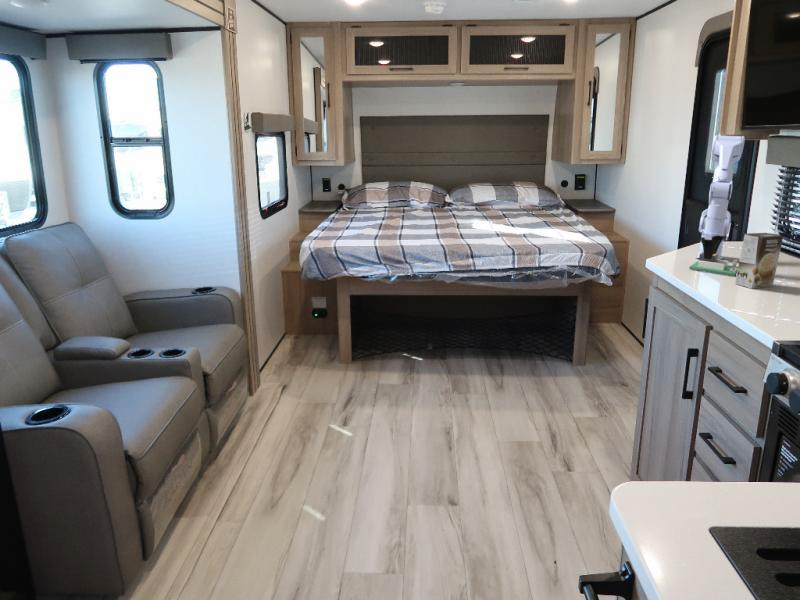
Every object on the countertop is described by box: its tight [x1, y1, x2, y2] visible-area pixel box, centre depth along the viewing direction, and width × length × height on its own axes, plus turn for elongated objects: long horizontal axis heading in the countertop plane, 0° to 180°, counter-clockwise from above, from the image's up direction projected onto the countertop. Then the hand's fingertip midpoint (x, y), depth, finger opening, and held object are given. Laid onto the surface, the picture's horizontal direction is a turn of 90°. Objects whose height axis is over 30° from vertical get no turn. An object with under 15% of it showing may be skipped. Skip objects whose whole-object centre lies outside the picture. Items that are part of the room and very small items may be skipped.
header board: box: [688, 258, 738, 277], centre depth 209 cm, size 12×14×4 cm
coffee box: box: [734, 232, 784, 289], centre depth 189 cm, size 9×6×16 cm
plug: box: [698, 252, 718, 263], centre depth 211 cm, size 4×5×4 cm
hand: (709, 257), depth 210 cm, fingers open, 5 cm apart
